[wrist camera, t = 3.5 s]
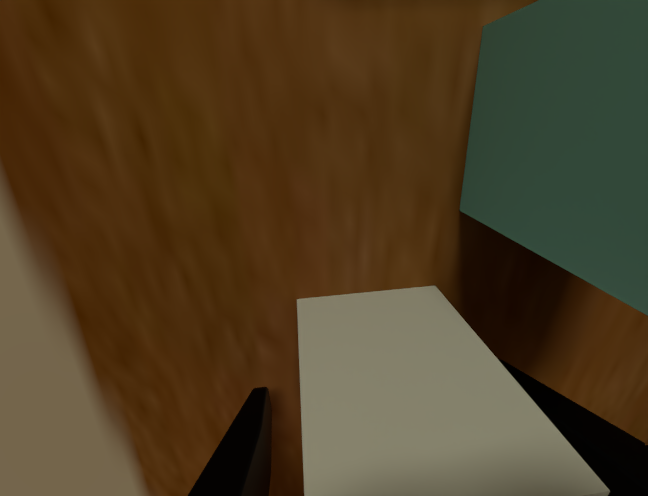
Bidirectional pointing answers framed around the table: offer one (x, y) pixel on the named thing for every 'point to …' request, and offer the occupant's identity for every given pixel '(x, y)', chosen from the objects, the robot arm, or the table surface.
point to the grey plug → (420, 406)
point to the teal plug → (566, 139)
